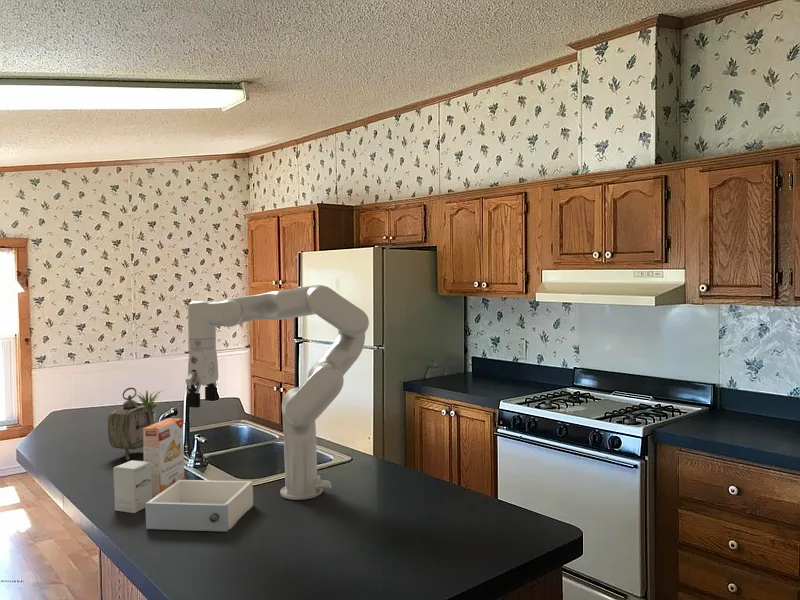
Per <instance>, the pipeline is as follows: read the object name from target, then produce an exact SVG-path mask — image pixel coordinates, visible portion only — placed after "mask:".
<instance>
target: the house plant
mask: <svg viewBox="0 0 800 600" xmlns="http://www.w3.org/2000/svg"><path fill="white" fill-rule="evenodd" d="M163 391H165V390H160V391H158V392H157V391H154V392H152V393H150V394H149V391H148V390H147V389H146V391H145V396H144V395H143V394H142V393H141V392H139V394H140V395H139V394H137V393H136V396H135V397H134V399H137V397H138V398H139V399H140V400H139V401H140V403H139V402H137V401H136V403H137V404H138V406H149V407H151V408H152V411H153V410H154V409H155V407H158V406H160V404H158V402H155V401H156V400H157V397H158V396H159V395H160V394H161V392H163ZM155 393H156V394H155ZM153 394H155V395H154V396H153ZM152 396H153V397H152ZM156 416H157V411H153V419H154V424H155V423H156Z"/></svg>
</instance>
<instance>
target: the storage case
mask: <svg viewBox="0 0 800 600" xmlns="http://www.w3.org/2000/svg"><path fill="white" fill-rule="evenodd" d="M253 484H254V483H253V481H252V480H251V481H250V480H249V481H248V480H210V479H209V480H208V479H207V480H206V479H205V480H204V479H200V480H199V479H185V480H178V481H177V482H175V483H174V484H173V485H171V486H170V487H168V488H167V489H165V490H164V491H163V492H161V493H160V494H158V495H157V496H155V497H152V499H151V500H150V501H148V502H167V503H205V504H227V508H228V530H229V529H230V530H231V529H232V528H233V527H234V526H235V525H236V524H237V523H238V522H239V521H240V520H241V519H242V518H243V517H244V516H245V515H246V514H247V513H248V512H249V511H250V510H251V508H252V507H254V490H253V489H254V487H253ZM247 511H248V512H247ZM246 512H247V513H246ZM245 513H246V514H245ZM244 514H245V515H244ZM243 515H244V516H243ZM242 516H243V517H242ZM241 517H242V518H241ZM240 518H241V519H240ZM239 519H240V520H239ZM238 520H239V521H238ZM237 521H238V522H237ZM230 530H229V531H230Z"/></svg>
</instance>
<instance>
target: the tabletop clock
mask: <svg viewBox="0 0 800 600" xmlns="http://www.w3.org/2000/svg"><path fill="white" fill-rule="evenodd" d="M130 390H133V391H134V394H133V395H127V396H128V397H125V393H127V392H128V391H130ZM136 394H137V389H136V388H134V387H128V388H125V390H124V391H122V398H123V400H126V401H124V402H123V404H122V407H120V408H118V409H115V410H112V412H110V413H108V417H107V434H108V435H107V436H108V442H109V444H110V446H111V447H112V448H113V449H119V450H120V449H121V450H123V449H124V455H125V457H124V458H125V460H126V461H130V458H131V456H130V453H131V452H130V451H129V450H137V449H141V448H143V428H145V427H148V426H150V425H152V424H154V419H153V410H152V408H151V407H149V406H143V405H142V406H138V404H137V403H136V402H137V401H136V400H134V399H135V397H137V395H136Z"/></svg>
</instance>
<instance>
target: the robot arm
mask: <svg viewBox="0 0 800 600" xmlns="http://www.w3.org/2000/svg"><path fill="white" fill-rule="evenodd" d="M312 315H316V316H318V317H319V318H320V319H322V320H324V321H325V322H326V323H328V324H330V325H331V326H332V327H334V328H335V329H337V330H338V333H337V335H336V336H337V337H336V339H335V340H334V342H333V343H332V344H331V346H330V347H329V348H328V350H327V351H326V352H325V353H324V354H323V355H322V356H321V357H320V358H319V359H318V360H317V361H316V362H315V363H314V364H313V365H312V366H311V368H310V369H309V370H308V375H307V380H306V381H305V382H304V384H302V385H301V387H300V386H297V387H293V388H290V389H289V390H287V392H286V393H285V394H284V396H283V397H282V401H281V413H282V414H281V415H282V427H283V428H282V429H283V452H284V453H283V454H284V455H283V457H284V481H285V482H284V483H285V485H284V487H282V488H281V489H280V491H279V494H280V496H281V497H282V498H283V499H285V500H286V499H287V500H291V501H300V500H301V501H302V500H309V499H314V498H316V497H318V496H321V495H322V494H323V492H324V490H331V489H332V482H330V480H322V479H321V475H318V459H317V455H318V454H317V453H318V452H317V427H316V420H317V419H319V417H320V416H321V415H322V414H323V412H324V411H326V409H328V407H329V406H330V405H331V404H332V402H333V401H334V400H336V398H337V397H338V396H339V394H340V393H341V391H342V389H343V387H344V376H345V375H346V373H348V371H349V370H350V368H352V366H353V365H354V363H355V362H356V361H357V360H358V359H359V357H360V355H361V354H362V351H363V350H364V346H365V341H366V332H367V330H368V328H369V325H370V321H369V317H368V315H367V313H366V312H365V311H364V310H362V308H360V307H358V306H357V305H355V304H354V303H352V302H351V301H349V300H348V299H346V298H344V297H343V296H341V295H340V294H339V293H337V292H336V291H335V290H333V289H332V288H331V287H329V286H327V285H322V284H317V285H310V286H302V287H295V288H288V289H282V290H274V291H270V292H266V293H261V294H255V295H246V296H241V297H233V298H227V299H224V300H223V301H218V302H217V301H216V302H214V301H210V300H193V301H191V302H189V303H188V305H187V320H188V321H187V327H188V329H187V332H188V333H187V334H188V335H187V336H188V337H187V338H188V339H187V340H188V350H189V353H188V364H187V376H186V378H185V383H186V389H187V394H188V407H189V408H198V409H199V408H200V407H201V393H200V390H201V386H203V387H204V395H205V396H204V400H205V401H210V402H212V401H213V402H214V401H217V381H218V380H219V362H218V354H217V341H216V340H217V338H216V337H217V335H216V334H217V333H216V332H217V330H216V329H217V327H223V328H224V327H225V328H232V327H236V326H237V325H239V324H240V323H245V322H251V321H260V320H270V321H272V320H273V321H281V320H288V319H294V318H300V317H306V316H312Z"/></svg>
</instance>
